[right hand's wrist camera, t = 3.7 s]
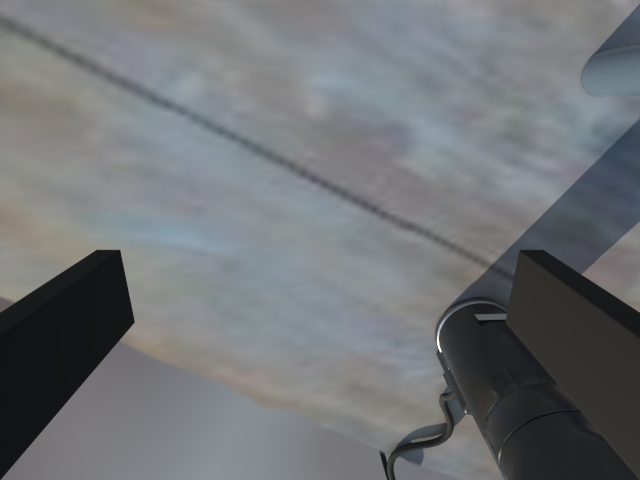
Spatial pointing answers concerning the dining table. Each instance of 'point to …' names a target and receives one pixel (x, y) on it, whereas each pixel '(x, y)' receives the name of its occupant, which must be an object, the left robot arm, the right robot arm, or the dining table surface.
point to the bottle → (613, 72)
